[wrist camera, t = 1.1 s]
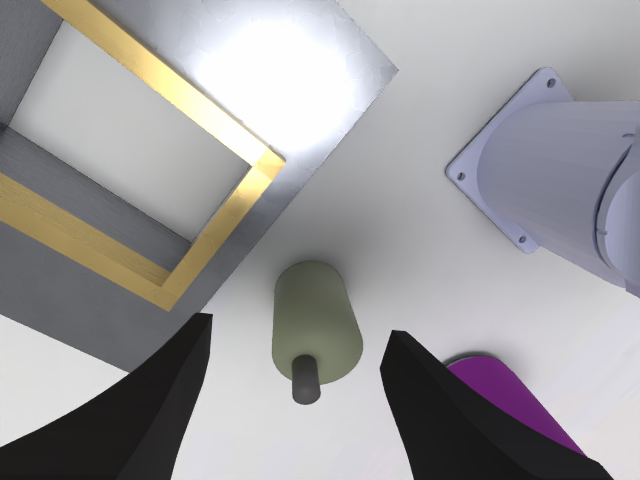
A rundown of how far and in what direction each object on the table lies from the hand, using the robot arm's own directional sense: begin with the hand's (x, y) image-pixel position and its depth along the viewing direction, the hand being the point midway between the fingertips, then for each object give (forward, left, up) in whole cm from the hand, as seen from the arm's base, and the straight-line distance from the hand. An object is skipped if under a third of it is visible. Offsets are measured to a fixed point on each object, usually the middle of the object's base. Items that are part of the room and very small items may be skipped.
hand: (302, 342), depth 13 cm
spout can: (-3, +2, -10) cm, 10 cm away
